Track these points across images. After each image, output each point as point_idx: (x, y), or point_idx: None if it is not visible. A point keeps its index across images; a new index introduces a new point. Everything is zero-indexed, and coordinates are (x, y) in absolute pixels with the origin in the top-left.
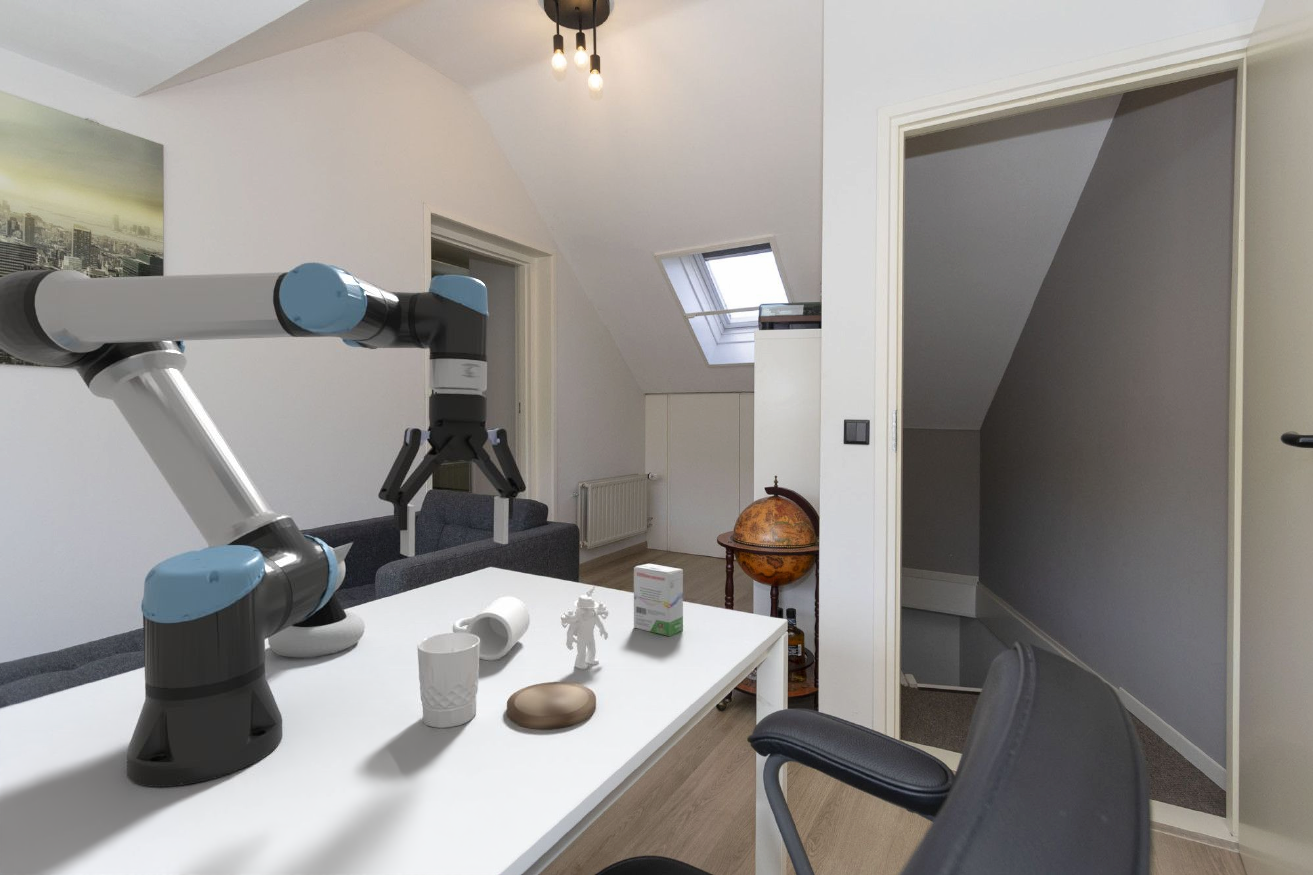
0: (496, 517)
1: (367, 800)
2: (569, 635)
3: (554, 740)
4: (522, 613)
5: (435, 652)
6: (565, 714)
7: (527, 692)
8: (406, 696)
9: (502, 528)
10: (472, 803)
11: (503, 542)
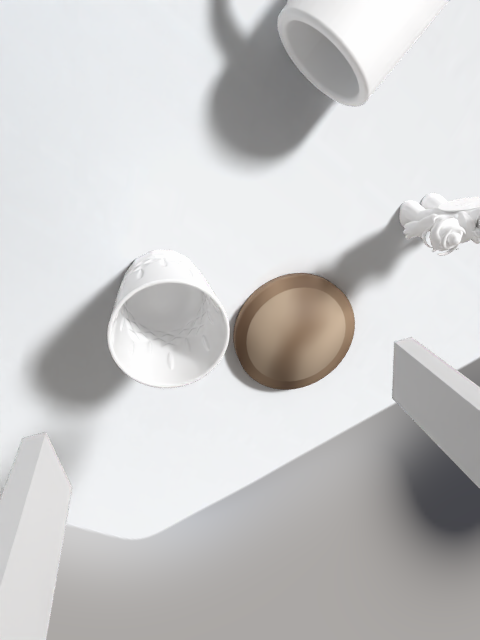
0: (458, 414)
1: None
2: (421, 230)
3: (255, 403)
4: (441, 9)
5: (134, 378)
6: (289, 381)
7: (280, 300)
8: (112, 167)
9: (426, 428)
10: (138, 474)
11: (395, 401)
